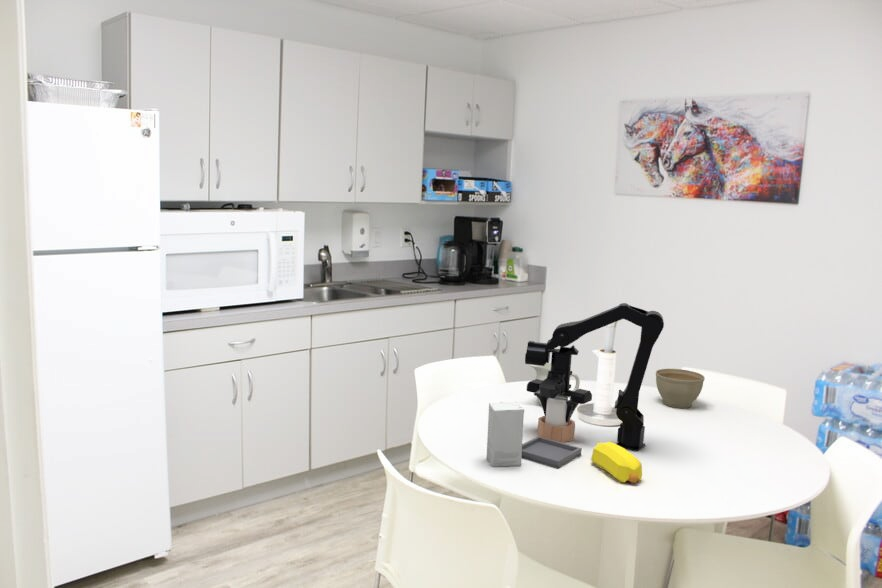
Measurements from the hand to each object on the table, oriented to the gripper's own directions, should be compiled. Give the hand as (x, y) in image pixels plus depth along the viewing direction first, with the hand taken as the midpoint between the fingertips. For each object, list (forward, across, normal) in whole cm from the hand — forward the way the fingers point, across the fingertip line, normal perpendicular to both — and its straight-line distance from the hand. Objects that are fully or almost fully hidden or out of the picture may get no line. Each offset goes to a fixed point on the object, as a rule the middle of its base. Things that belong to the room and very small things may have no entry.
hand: (556, 419), depth 217 cm
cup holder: (+5, 0, 0) cm, 5 cm away
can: (+5, 0, 0) cm, 5 cm away
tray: (+5, +6, -16) cm, 18 cm away
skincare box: (+5, 0, -29) cm, 29 cm away
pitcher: (+5, -16, +28) cm, 33 cm away
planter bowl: (+5, +15, +61) cm, 63 cm away
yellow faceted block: (+6, +25, -14) cm, 29 cm away
